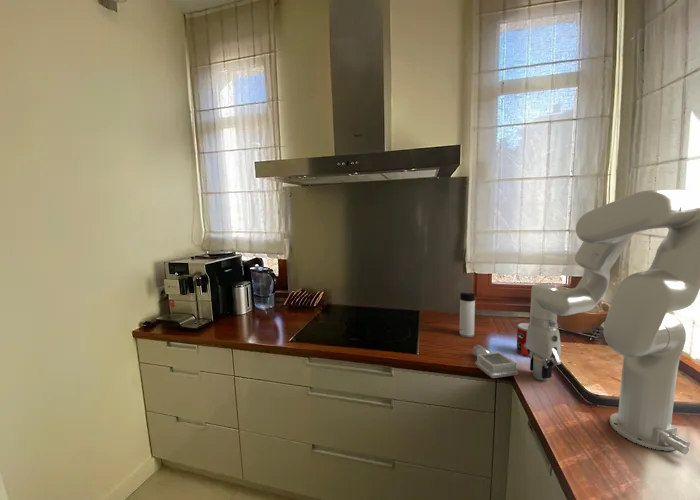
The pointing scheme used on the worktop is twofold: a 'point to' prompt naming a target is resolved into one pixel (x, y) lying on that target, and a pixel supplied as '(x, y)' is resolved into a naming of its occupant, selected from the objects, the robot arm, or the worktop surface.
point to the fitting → (494, 363)
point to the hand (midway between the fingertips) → (540, 373)
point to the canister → (538, 367)
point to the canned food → (522, 339)
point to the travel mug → (467, 314)
